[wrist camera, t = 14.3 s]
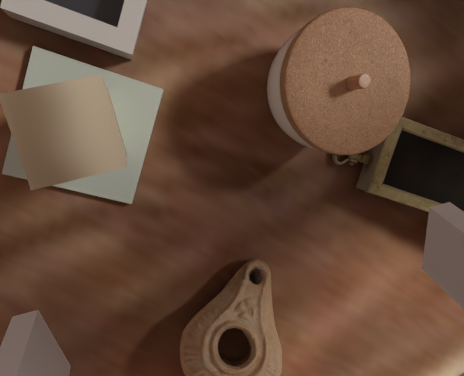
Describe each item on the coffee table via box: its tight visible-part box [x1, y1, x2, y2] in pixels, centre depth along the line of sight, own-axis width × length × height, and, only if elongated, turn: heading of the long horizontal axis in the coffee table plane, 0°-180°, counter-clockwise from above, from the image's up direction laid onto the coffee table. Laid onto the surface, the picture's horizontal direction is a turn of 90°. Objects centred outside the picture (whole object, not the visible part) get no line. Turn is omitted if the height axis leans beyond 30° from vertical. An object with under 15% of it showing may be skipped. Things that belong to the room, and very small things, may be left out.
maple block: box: [0, 74, 127, 191], centre depth 25 cm, size 5×5×11 cm
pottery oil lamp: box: [180, 259, 282, 376], centre depth 33 cm, size 9×12×7 cm
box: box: [332, 117, 464, 212], centre depth 39 cm, size 8×22×5 cm, turn 71°
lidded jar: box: [267, 7, 410, 155], centre depth 31 cm, size 11×11×9 cm
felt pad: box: [2, 46, 163, 204], centre depth 30 cm, size 10×10×1 cm
